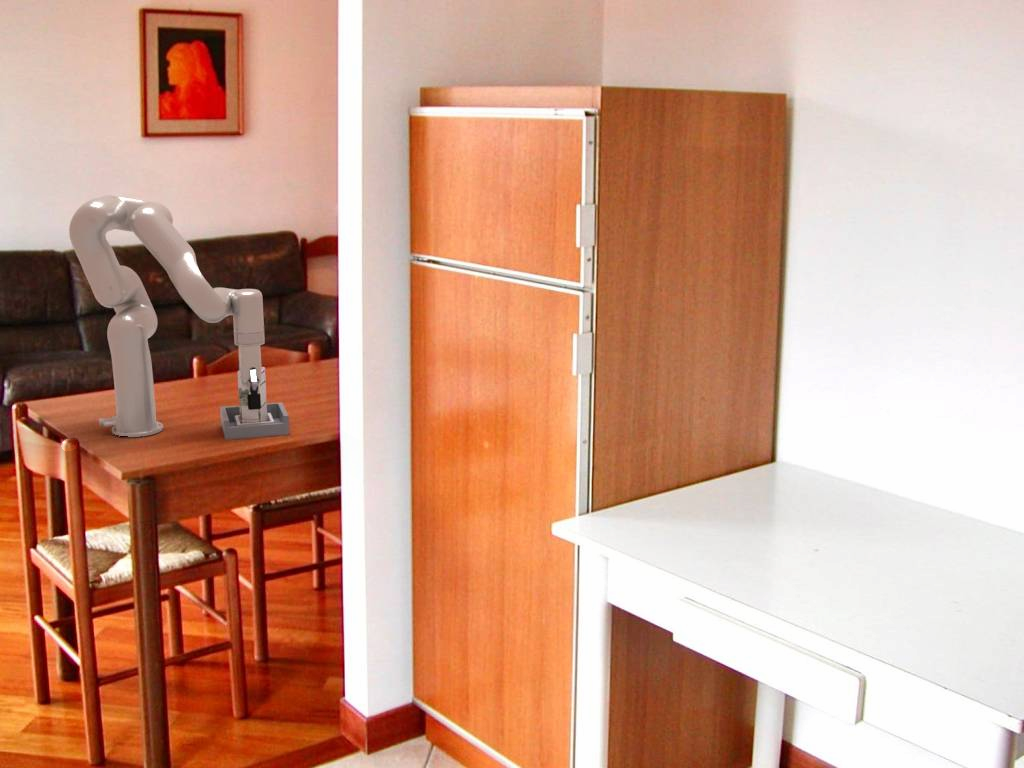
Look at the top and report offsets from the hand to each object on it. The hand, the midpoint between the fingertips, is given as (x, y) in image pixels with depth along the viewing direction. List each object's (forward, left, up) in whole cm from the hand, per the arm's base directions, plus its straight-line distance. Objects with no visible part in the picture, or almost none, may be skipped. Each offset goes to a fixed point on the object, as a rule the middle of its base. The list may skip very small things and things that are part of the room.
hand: (253, 404), depth 304 cm
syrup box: (0, 0, -5) cm, 5 cm away
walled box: (0, 0, -7) cm, 7 cm away
